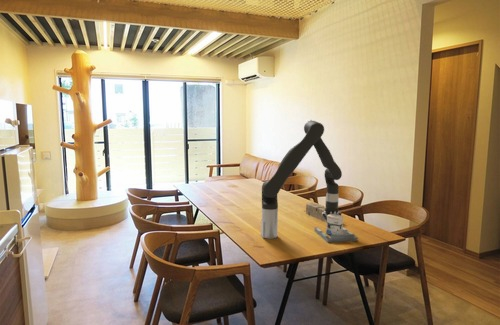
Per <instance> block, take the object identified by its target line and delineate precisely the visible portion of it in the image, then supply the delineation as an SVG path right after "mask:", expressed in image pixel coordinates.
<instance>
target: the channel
mask: <svg viewBox="0 0 500 325" xmlns="http://www.w3.org/2000/svg"><path fill="white" fill-rule="evenodd" d="M313 230H314V232H315V233H317V235H319V237H321V238H322V239H323V240H324V241H325V242H326V243H346V242H358V240H359V239H358V238H359V237H358V236H357V235H355V233H353V232H351V231H349V230H348V229H347V228H346V227H344V226H343V232H342V234H341V235H330V237H329V236H328V234H326V233H325V232H324V231H323V230H322V229H320V228H319V227H317V226H316V227H314V229H313Z"/></svg>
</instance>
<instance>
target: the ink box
mask: <svg viewBox="0 0 500 325" xmlns="http://www.w3.org/2000/svg"><path fill="white" fill-rule="evenodd" d="M343 227H344V216H343V215H341V216H340V215H336V214H329V215H327V222H326V229H325V230H326V233H325V234H326V235H330V236H331V235H341V234H343Z"/></svg>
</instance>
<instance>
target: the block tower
mask: <svg viewBox="0 0 500 325" xmlns="http://www.w3.org/2000/svg"><path fill="white" fill-rule="evenodd" d="M305 206H306V207H305V215H308V216H311V217H313V218H315V219H317V220H319V221H322V222H324V223H327V220H325V218H324V217H323V216H322V214H321V213H323V212H324V211H325V209H326V207H325V205H321V204H319V203H315V202H314V201H313V202H307V203H306V204H305ZM336 215H337V214H336ZM326 217H327V214H326Z"/></svg>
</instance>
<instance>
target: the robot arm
mask: <svg viewBox="0 0 500 325" xmlns="http://www.w3.org/2000/svg"><path fill="white" fill-rule="evenodd" d="M303 131H304V133H305V136H304V137H303V138H302V139H301V140H300V141H299V142H298V143H297V144H296V145H294V146H293V147H291V148H290V149H289V150H288V151H287V152H286V154H285V155H284V157H283V158H282V159H281V162H280V163H279V165H278V167H277V170H276V171H275V173H274V174H273V176H272V177H271V178H270V179H266V180H265V181H264V182H263V183H262V186H261V219H260V220H261V222H260V236H261V238H262V239H269V240H270V239H271V240H273V239H276V238H278V227H279V226H278V221H279V220H278V219H279V218H278V217H279V216H278V215H279V214H278V213H279V211H278V209H279V208H278V207H279V203H278V195H279V192H280V190H281V189H282V188H283V185H284V184H285V182H286V181H287V180H288V178H289V177H291V175H292V173H293V172H295V170H296V169H297V167H298V166H299V165H300V164H301V162H302V161H303V160H304V159H305V156H306V155H307V154H308V153H309V152H310V150H311V149H312V147H314V149H315V151H316V153H317V155H318V157H319V160H320V162H321V164H322V166H323V167H324V168H326V169H325V170H324V180H325V186H326V195H325V208H326V209H325V211H324V212H323V213H321V214H322V216H323V217H324V218H325V220H327V217H326V214H327V215H329V214H337V215H340V216H343V215H342V214H343V213H342V212H340V210H339V198H340V197H339V184H338V183H337V182H335V181H339V180H340V179H341V178H342V176H343V174H342V173H343V172H342V170H341V168H340V167H339V165H338V164H337V163H336V161H335V160H334V157H333V155H332V153H331V151H330V149H329V148H328V147H327V145H326V143H325V142H324V140H323V139H322V136H323V135H324V133H325V126H324V124H322V123H320V122H318V121H316V120H308V121H307V122H306V123H304V126H303Z"/></svg>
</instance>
